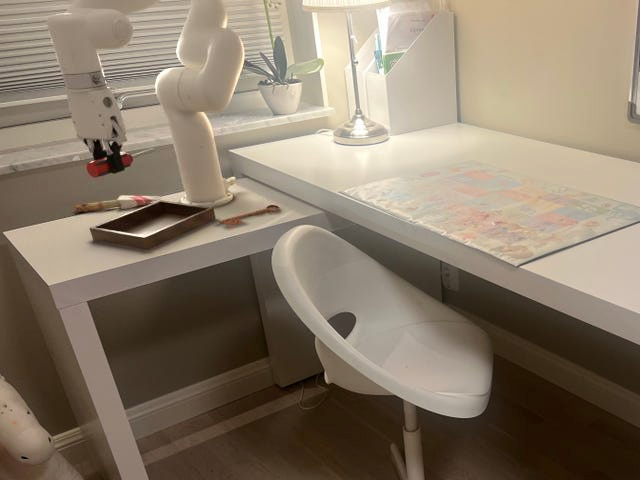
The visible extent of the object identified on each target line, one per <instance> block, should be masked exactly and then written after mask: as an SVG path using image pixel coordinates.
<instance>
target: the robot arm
mask: <svg viewBox="0 0 640 480" xmlns="http://www.w3.org/2000/svg"><path fill="white" fill-rule="evenodd" d="M160 2H161V0H74V1H73V2H72V3H71V4H70V5H69V7H68V8H67V9H66V10H65V12H64V13H55V14H51V15H49V16H48V17H47V19H46V26H47V30H48V34H49V37H50V40H51V43H52V46H53V49H54V54H55V56H56V60H57V63H58V67H59V69H60V72H61V76H62V79H63V82H64V83H63V84H64V87H65V91H66V98H67V103H68V108H69V113H70V117H71V120H72V123H73V127H74V130H75V132H76V138H77V139H78V140H80V141H81V142H82V143H84V145H85V146H86V147H87V149H88V152H89V153H90V154H91V155H92V158H93V161H95V160H98V159H101V158H104V157H107V161H108V164H109V167H110V171H111V173H110V174H114V175H116V174H118V173H121V172H123V171H125V169H126V168H124V165H123V161H122V158H121V154H120V153H121V152H123V151H122V147H123V145H124V144H126V143H127V142H128V138H127V136H126V135H127V129H126V125H125V122H124V121H125V120H124V119H123V115H122V113H121V112H122V111H121V109H120V107H119V104H118V101H117V99H116V97H115V95H114V93H113V90H112V89H111V87H110V86H108V85H107V79H106V77H105V73H104V69H103V66H102V63H101V59H100V56H99V52H98V51H99V50H120V49H123V48H125V47H127V46H129V44H130V43H131V42H132V40H133V37H134V27H133V24H132V22H131V20H130V19H129V18H128V16H127V15H131V14H135V13H139V12H142V11H145V10H148V9H150V8H153V7H155V6H156V5H158V4H159V3H160ZM227 24H228V12H227V8H226V7H225V4H224V2H223V0H190V7H189V11H188V14H187V17H186V19H185V23H184V25H183V28H182V29H181V33H180V36H179V38H178V41H177V45H176V56H177V59H178V61H179V62H180V64H182V65H183V66H184V67H170V68H166V69H164V70H162V71H161V72H160V73H159V74H158V75H157V77H156V80H155V93H156V97H157V99H158V102H159V104H160V105H161V108H162V110H163V113H164V115H165V118H166V120H167V124H168V128H169V131H170V136H171V140H172V144H173V149H174V153H175V157H176V162H177V166H178V169H179V173H180V177H181V182H182V185H183V190H184V194H185V195H183V196H182V197H181V198H180V199H179V201H180V202H179V203H184V204H191V205H197V206H204V207H211V208H214V207H218V206H221V205H224V204H226V203H229V202H231V201H232V200H233V199H234V195H233V192H232V191H230V190H229V188H230V186H234V185H236V184H237V183H238V180H237V178H236V177H235V176H231V177H229V178H225V177H223V174H222V169H221V164H220V159H219V155H218V151H217V145H216V141H215V137H214V135H215V134H214V130H213V126H212V123H211V122H210V120H209V118H208V116H207V115H206V113H207V114H208V113H209V114H210V113H211V114H216V113H218V114H219V113H221V112H223V111H224V110H226V109H227V108H228V106H229V104H230V102H231V100H232V98H233V95H234V93H235V90H236V87H237V84H238V82H239V79H240V76H241V72H242V70H243V66H244V64H245V63H244V62H245V48H244V43H243V41H242V39H241V37H240V35H239V34H238V33H237V32H235V31H234V30H232V29H230V28H227ZM111 142H112V143H111Z"/></svg>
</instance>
